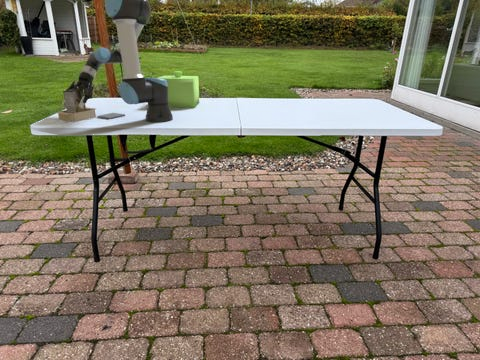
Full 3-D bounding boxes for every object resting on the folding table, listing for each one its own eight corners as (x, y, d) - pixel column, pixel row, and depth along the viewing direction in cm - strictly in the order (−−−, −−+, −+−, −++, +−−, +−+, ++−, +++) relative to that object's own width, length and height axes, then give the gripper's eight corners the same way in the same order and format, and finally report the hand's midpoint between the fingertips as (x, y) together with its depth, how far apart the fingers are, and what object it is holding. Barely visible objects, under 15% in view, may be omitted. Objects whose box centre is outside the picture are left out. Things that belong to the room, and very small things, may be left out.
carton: (99, 116, 205) (98, 108, 203) (69, 122, 188) (68, 114, 187) (85, 114, 211) (83, 106, 209) (54, 120, 194) (53, 112, 192)
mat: (125, 116, 207) (125, 114, 207) (109, 119, 197) (109, 117, 197) (113, 114, 212) (113, 112, 211) (97, 117, 202) (97, 115, 201)
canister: (158, 107, 236) (155, 72, 227) (165, 102, 256) (163, 70, 247) (194, 108, 235) (193, 72, 227) (199, 103, 255) (198, 70, 246)
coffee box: (77, 116, 204) (73, 88, 198) (87, 117, 203) (83, 89, 197) (67, 119, 196) (62, 90, 190) (77, 120, 195) (73, 91, 189)
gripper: (107, 80, 202) (93, 111, 194) (75, 79, 209) (60, 109, 201) (100, 72, 196) (84, 103, 188) (67, 70, 202) (51, 101, 194)
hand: (72, 106), depth 194 cm, fingers open, 11 cm apart
